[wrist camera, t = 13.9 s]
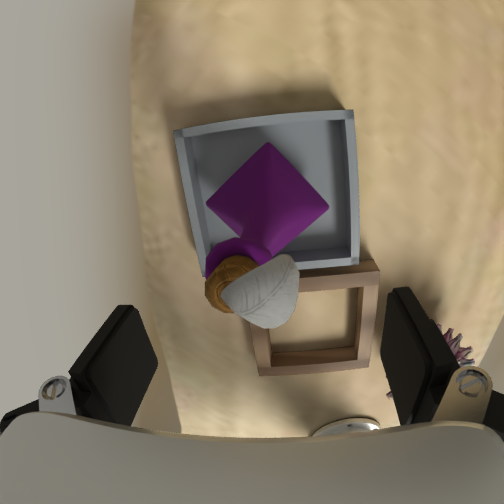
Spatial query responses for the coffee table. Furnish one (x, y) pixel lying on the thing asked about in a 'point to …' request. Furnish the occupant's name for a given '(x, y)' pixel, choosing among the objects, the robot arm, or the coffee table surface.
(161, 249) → the coffee table surface
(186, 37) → the coffee table surface
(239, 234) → the perfume bottle
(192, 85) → the coffee table surface
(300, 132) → the tray
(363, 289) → the square wooden frame
